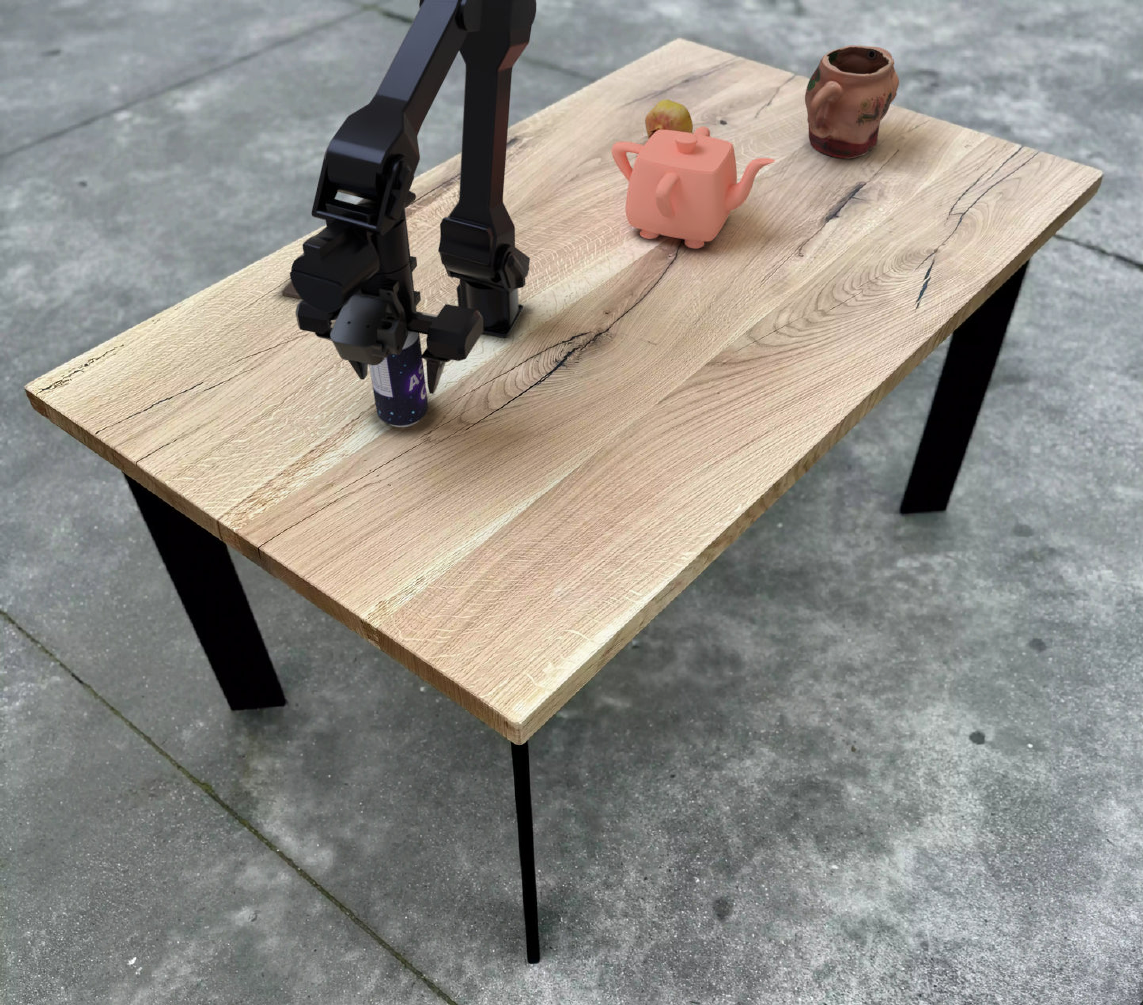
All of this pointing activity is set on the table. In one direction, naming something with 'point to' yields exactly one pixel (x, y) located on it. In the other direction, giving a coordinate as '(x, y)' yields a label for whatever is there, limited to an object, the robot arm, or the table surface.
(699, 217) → the teapot
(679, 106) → the fruit
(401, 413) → the beverage can
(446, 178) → the table surface
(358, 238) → the robot arm
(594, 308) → the table surface
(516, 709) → the table surface
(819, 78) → the decorative planter
